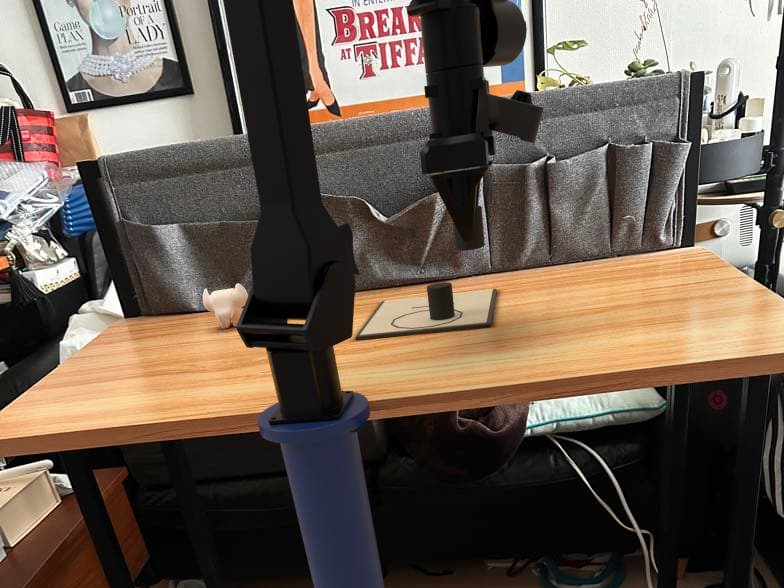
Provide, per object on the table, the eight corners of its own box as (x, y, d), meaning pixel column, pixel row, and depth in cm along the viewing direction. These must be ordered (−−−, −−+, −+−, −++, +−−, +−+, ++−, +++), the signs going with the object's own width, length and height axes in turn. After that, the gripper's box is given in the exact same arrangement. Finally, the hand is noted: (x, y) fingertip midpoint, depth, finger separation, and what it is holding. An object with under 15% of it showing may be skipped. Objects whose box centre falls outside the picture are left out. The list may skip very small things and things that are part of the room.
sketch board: (490, 327, 88) (490, 322, 87) (355, 340, 91) (354, 335, 91) (496, 291, 105) (496, 287, 104) (382, 303, 108) (382, 299, 108)
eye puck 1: (453, 318, 92) (450, 286, 90) (428, 321, 92) (425, 289, 90) (455, 312, 94) (452, 281, 92) (431, 315, 95) (428, 283, 93)
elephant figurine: (205, 336, 105) (193, 294, 102) (215, 323, 112) (204, 283, 109) (250, 329, 105) (240, 286, 102) (257, 316, 112) (248, 277, 109)
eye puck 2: (483, 248, 78) (480, 208, 76) (454, 252, 78) (450, 212, 76) (485, 243, 81) (482, 204, 79) (457, 246, 81) (453, 208, 79)
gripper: (536, 49, 62) (544, 243, 70) (537, 60, 77) (543, 216, 85) (409, 72, 64) (430, 256, 72) (435, 77, 80) (450, 228, 88)
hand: (469, 237), depth 79 cm, fingers closed on eye puck 2, 3 cm apart
